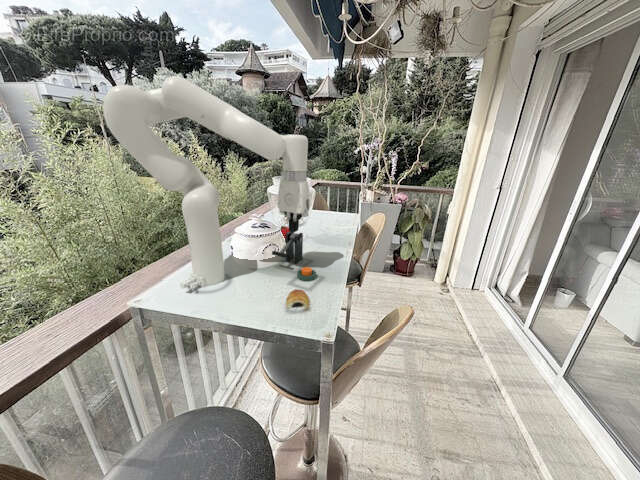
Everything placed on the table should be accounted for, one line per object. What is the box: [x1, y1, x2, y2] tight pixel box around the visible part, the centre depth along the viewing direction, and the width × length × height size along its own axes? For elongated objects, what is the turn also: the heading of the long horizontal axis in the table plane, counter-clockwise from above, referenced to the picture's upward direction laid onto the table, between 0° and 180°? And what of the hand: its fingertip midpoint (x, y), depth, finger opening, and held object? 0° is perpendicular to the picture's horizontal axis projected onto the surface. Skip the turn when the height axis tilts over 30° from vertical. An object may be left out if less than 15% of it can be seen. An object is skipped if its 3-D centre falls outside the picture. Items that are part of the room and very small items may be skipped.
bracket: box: [285, 232, 304, 265], centre depth 103 cm, size 12×9×13 cm
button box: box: [296, 268, 317, 283], centre depth 92 cm, size 10×8×3 cm
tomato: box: [280, 225, 289, 242], centre depth 126 cm, size 9×9×8 cm
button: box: [301, 266, 313, 276], centre depth 92 cm, size 4×4×2 cm
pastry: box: [286, 288, 310, 311], centre depth 79 cm, size 9×7×4 cm
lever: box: [271, 232, 298, 259], centre depth 98 cm, size 12×6×2 cm, turn 152°
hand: (293, 231), depth 90 cm, fingers closed
